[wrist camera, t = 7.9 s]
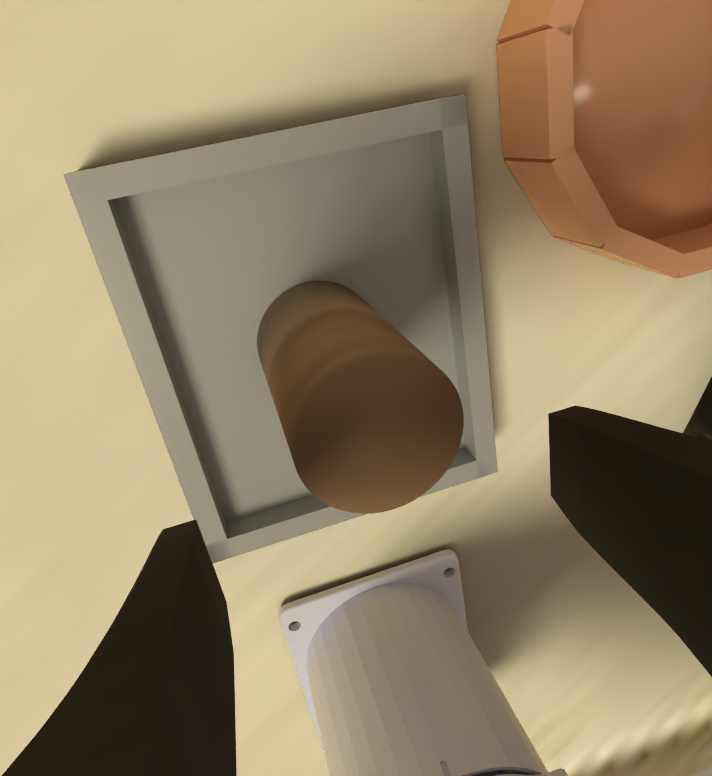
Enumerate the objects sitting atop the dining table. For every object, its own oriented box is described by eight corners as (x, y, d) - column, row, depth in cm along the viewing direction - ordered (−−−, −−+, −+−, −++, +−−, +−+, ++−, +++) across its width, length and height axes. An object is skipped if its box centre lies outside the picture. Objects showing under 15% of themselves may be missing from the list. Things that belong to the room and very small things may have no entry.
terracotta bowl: (796, 216, 23) (868, 225, 21) (511, 292, 21) (554, 312, 19) (859, -200, 18) (967, -255, 15) (483, -153, 16) (539, -207, 13)
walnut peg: (383, 380, 20) (470, 485, 14) (272, 409, 20) (311, 534, 13) (365, 268, 19) (455, 332, 12) (243, 296, 18) (272, 379, 12)
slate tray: (474, 447, 24) (497, 472, 22) (208, 529, 22) (210, 564, 20) (437, 98, 18) (465, 93, 16) (76, 170, 16) (63, 174, 14)
